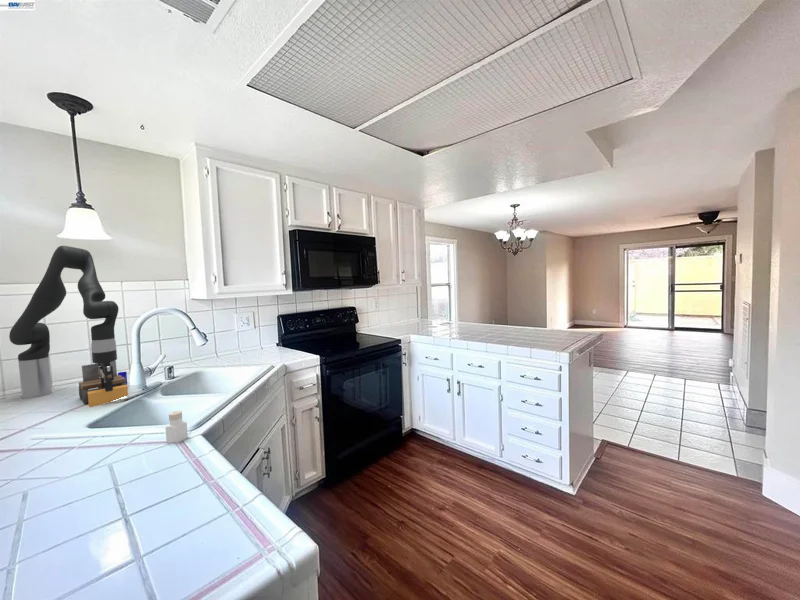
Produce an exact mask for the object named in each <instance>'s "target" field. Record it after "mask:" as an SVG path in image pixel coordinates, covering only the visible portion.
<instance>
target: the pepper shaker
mask: <svg viewBox="0 0 800 600" xmlns="http://www.w3.org/2000/svg"><path fill="white" fill-rule="evenodd" d="M168 422H169V423H168V424H167V425H166V426H165V429H164V430H165V438H166V443H171V444H178V443H179V442H182V441H183V440H186V439H187V438H188V436H189V435H188V422H187V421H184V420H183V411H182V410H175V411H171V412H169V413H168Z"/></svg>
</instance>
